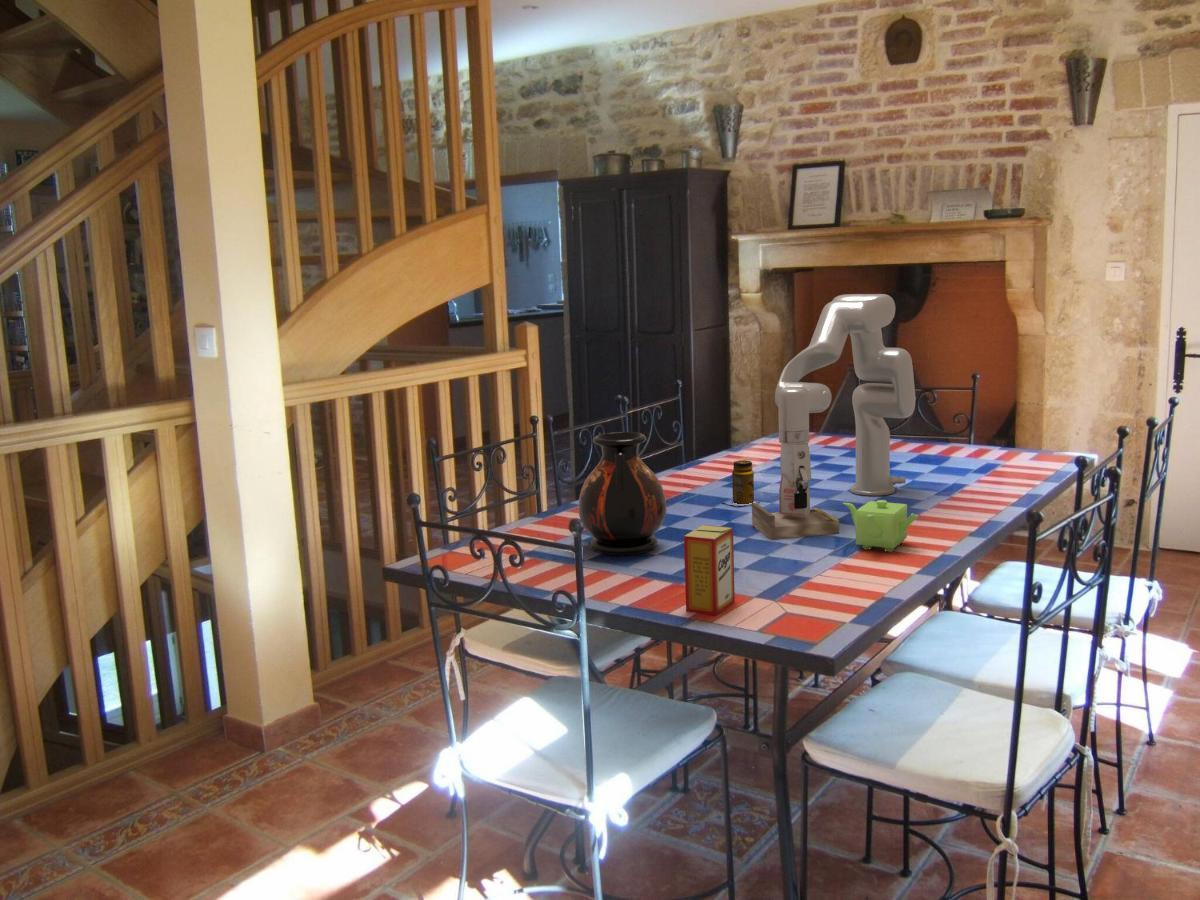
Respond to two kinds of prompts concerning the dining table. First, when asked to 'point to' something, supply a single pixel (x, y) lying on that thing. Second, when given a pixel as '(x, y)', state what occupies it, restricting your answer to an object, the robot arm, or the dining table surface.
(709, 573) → the baking soda box
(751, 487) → the condiment
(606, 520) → the amphora vase
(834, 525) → the dock
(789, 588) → the dining table surface
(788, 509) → the small white carton
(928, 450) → the dining table surface
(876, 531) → the kettle
